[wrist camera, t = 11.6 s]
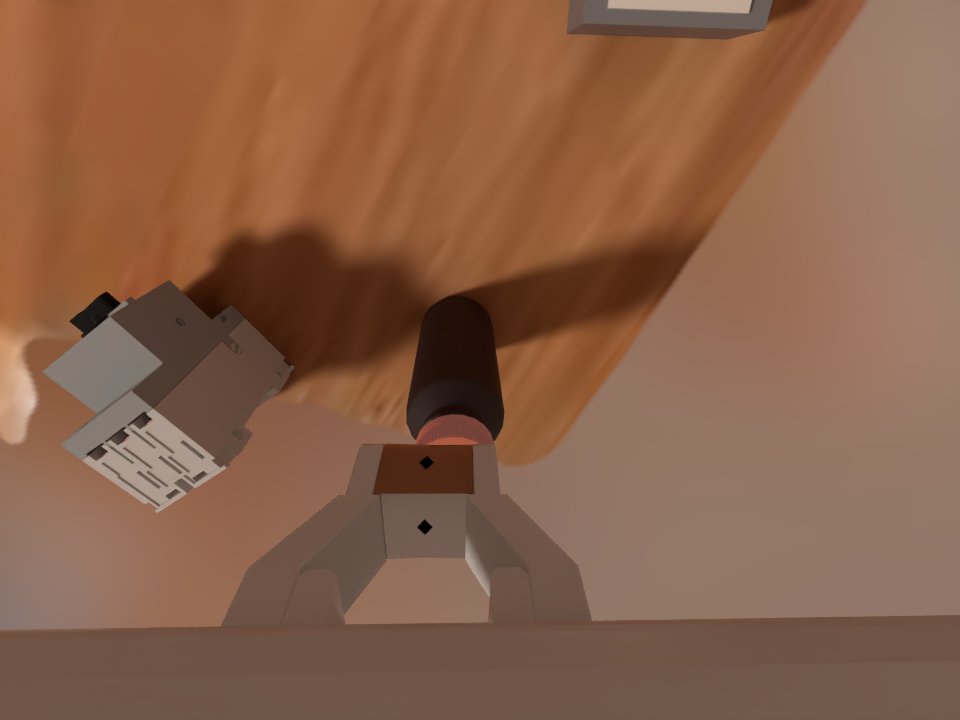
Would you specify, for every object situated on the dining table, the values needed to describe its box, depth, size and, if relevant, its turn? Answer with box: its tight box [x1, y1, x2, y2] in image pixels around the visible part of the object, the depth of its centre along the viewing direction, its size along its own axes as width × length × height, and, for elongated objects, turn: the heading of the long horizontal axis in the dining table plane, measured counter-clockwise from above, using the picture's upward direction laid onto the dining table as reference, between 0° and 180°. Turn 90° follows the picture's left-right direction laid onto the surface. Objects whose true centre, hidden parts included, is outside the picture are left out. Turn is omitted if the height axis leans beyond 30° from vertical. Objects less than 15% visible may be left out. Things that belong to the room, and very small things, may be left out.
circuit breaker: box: [43, 281, 295, 513], centre depth 38 cm, size 8×14×15 cm, turn 34°
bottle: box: [407, 297, 504, 445], centre depth 37 cm, size 7×7×20 cm
